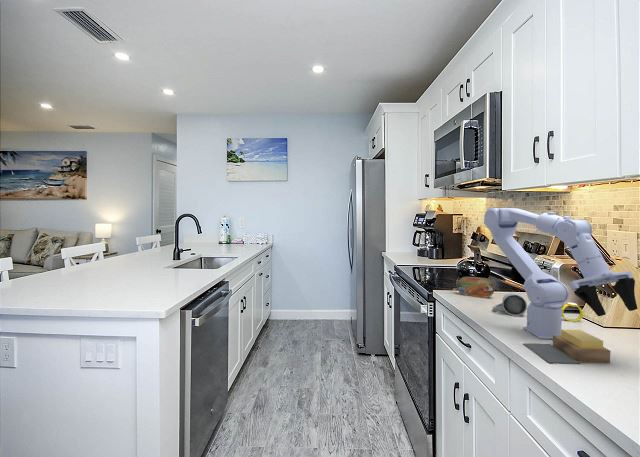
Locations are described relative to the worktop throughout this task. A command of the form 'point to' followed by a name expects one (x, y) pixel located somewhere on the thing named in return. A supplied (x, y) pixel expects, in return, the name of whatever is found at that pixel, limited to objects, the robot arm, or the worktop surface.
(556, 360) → the mat
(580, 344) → the yellow sponge
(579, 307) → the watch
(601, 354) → the block
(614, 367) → the worktop surface
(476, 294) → the tin
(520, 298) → the ceramic mug
